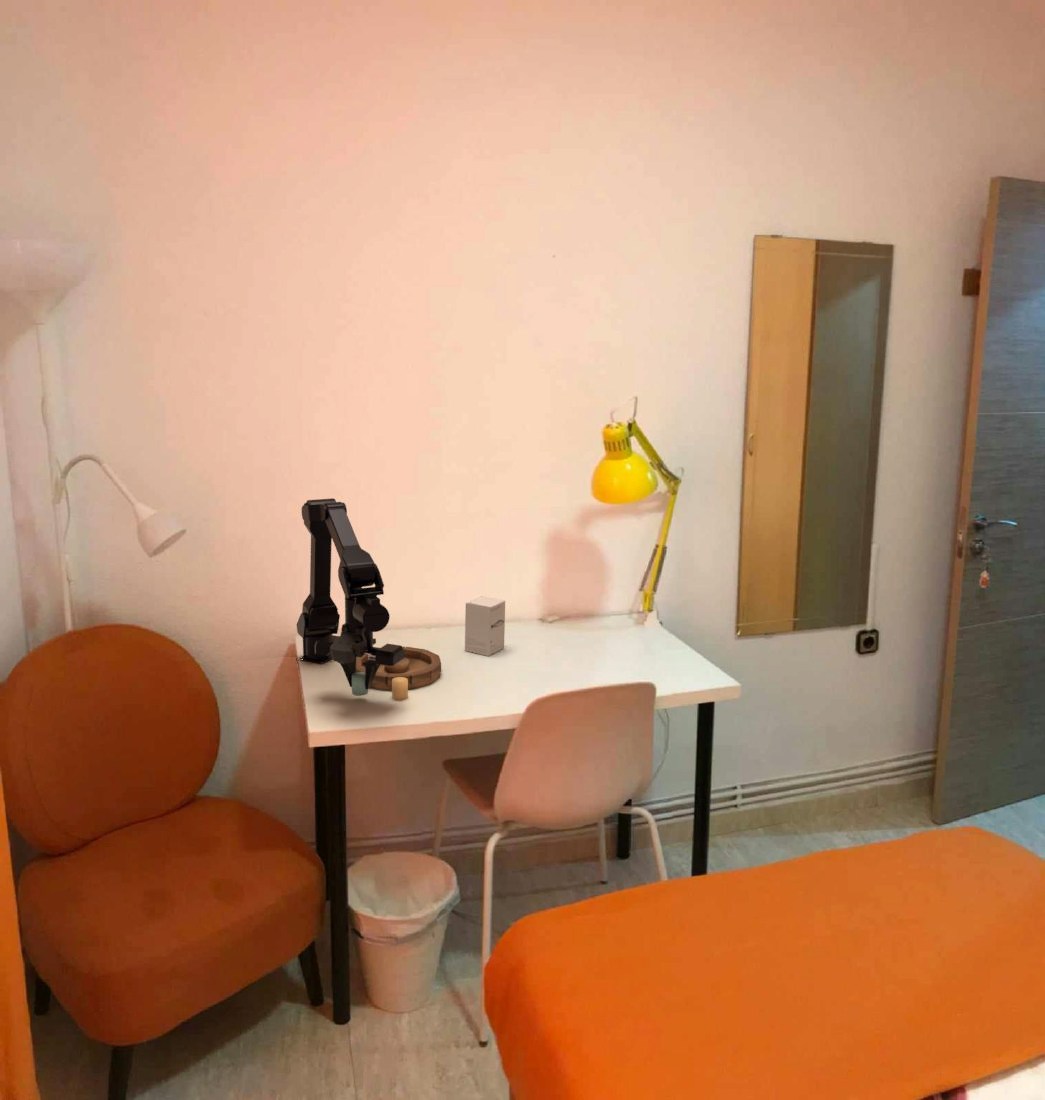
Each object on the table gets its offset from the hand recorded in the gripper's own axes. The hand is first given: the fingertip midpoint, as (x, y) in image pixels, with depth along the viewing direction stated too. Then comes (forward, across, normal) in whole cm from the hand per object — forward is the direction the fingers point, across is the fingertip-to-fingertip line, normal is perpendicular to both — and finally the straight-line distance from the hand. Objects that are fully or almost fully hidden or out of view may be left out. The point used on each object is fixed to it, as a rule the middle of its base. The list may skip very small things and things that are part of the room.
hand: (360, 687), depth 212 cm
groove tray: (+3, 0, +17) cm, 17 cm away
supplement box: (+3, +12, +41) cm, 43 cm away
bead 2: (+3, +7, +5) cm, 9 cm away
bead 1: (+1, 0, 0) cm, 1 cm away
